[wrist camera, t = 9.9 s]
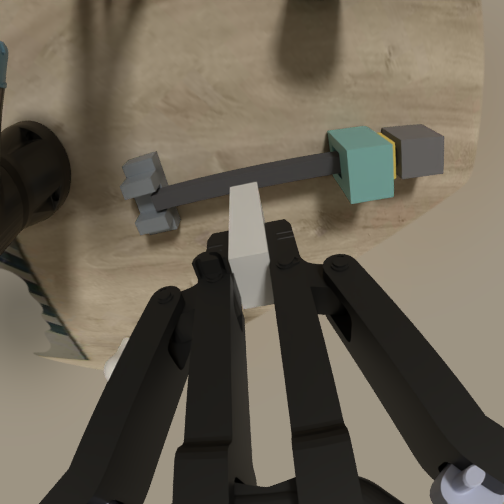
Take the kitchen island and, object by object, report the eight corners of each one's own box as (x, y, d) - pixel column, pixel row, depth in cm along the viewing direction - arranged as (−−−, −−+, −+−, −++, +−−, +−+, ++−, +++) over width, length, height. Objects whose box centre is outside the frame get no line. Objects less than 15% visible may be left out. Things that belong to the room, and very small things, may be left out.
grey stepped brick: (154, 225, 43) (145, 245, 39) (128, 160, 37) (114, 174, 33) (180, 219, 42) (173, 239, 38) (156, 151, 37) (145, 164, 33)
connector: (383, 162, 38) (401, 179, 33) (381, 127, 35) (401, 140, 31) (422, 157, 37) (443, 173, 33) (421, 124, 35) (444, 136, 30)
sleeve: (332, 175, 39) (351, 204, 32) (327, 130, 35) (346, 150, 29) (369, 170, 38) (393, 196, 32) (365, 125, 35) (392, 144, 28)
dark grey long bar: (165, 207, 40) (157, 224, 36) (153, 177, 37) (144, 191, 34) (420, 160, 36) (436, 172, 33) (420, 128, 34) (437, 138, 30)
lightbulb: (109, 336, 57) (94, 382, 48) (125, 323, 54) (109, 372, 45) (134, 351, 59) (122, 397, 50) (150, 340, 57) (139, 388, 48)
